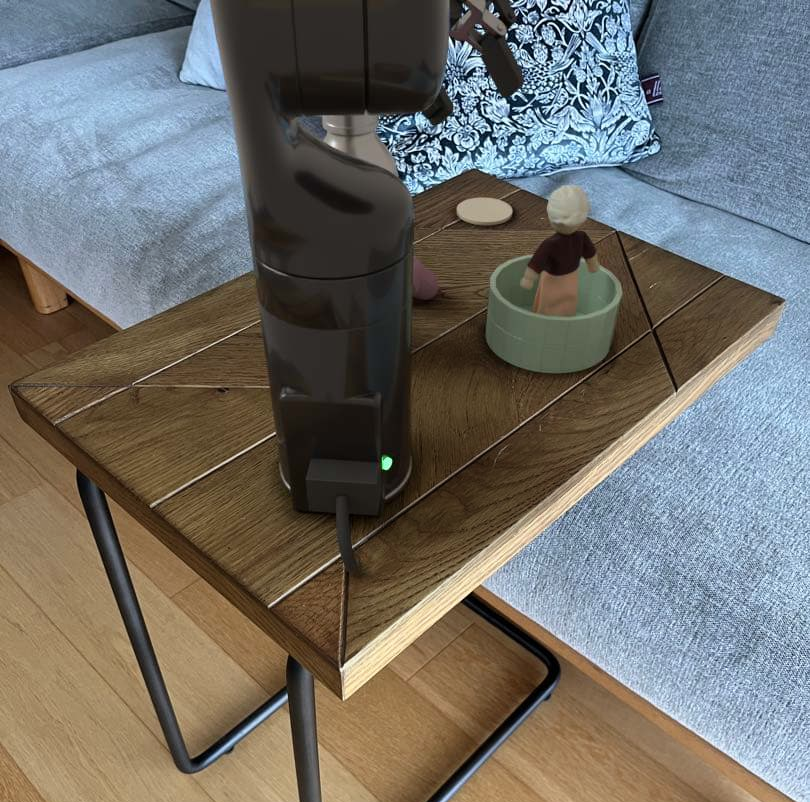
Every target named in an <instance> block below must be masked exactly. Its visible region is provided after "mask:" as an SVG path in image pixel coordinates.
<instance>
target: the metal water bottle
mask: <svg viewBox="0 0 810 802" xmlns="http://www.w3.org/2000/svg"><path fill="white" fill-rule="evenodd" d="M321 120H322V121H321V123H322V128H323V129H324V130H325V131H326V136H325V137H324V139H322V141H324V142H325V143H327V144H329V145H330V146H332V147H334V148H336V149H338V150H340V151H343V152H345V153H348V154H350V155H353V156H355V157H358V158H361V159H363V160H366V161H369V162H371V163H374V164H377V165H379V166H381V167H383V168H385V169H387V170H389V171H390V172H392V173H393V174H395V175H396V176H397V177H399V178H400V174H399V171H398V168H397V164H396V160H395V158H394V156H393V155H392V154H391V152H390V151H389V149H388V147H387V145H386V144H385V143H384V142H383V140H382V139H381V138H380V137H379V135H378V134H377V131H376V130H377V129H378V128H379V127H380V115H376V116H368V115H367V114H366V111H365V115H364V116H326V117H321Z"/></svg>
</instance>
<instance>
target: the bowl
mask: <svg viewBox="0 0 810 802" xmlns="http://www.w3.org/2000/svg"><path fill="white" fill-rule="evenodd" d="M533 255H534V254H526V255H522V256H519V257H516V258H511V259H509V260H507V261H505V262H504V263H502V264H500V265H498V266H497V267H496V268H495V270H494V271H493V272H492V274H491V275H490V278H489V287H488V297H487V298H488V299H487V301H488V302H487V310H486V322H485V340H486V343H487V345H488V347H489V349H490V350H491V351H492V352H493V353H494V354H495V355H496V356H497V357H498V358H500V359H502V360H503V361H504V362H506V363H509V364H510V365H513V366H514V367H516V368H520V369H522V370H527V371H531V372H536V373H543V374H569V373H575V372H580V371H584V370H586V369H587V370H588V369H589V368H592V367H593V366H596V365H597V364H599V363H601V362H602V361H603V360H604V359H605V358H606V357H607V356H608V355H609V352H610V350H611V346H612V344H613V341H614V336H615V331H616V326H617V322H618V317H619V312H620V309H621V303H622V300H623V295H624V293H623V288H622V284H621V281H620V280H619V279H618V278H617V277H616V275H615V274H614V273H613V272H612V271H610V270H609V269H607V268H606V267H604V266H602V265H601V264H599V265H600V267H599V270H598V271H597V272H595V273H591V272H589V271H588V269H587V264H586V262H585V260H584V257H581V260H580V265H579V267H578V269H577V272H578V303H577V310H576V316H572V317H559V316H546V315H542V314H537V313H533V312H532V310H533V305H534V301H535V297H536V293H537V290H538V286H539V282H540V278H541V274H542V272H541V273H540V274H539V275H538V276H537V278H536V280H535V281H534V282H533V286H532V288H531V289H530V290H523V289H522V288H521V287H520V281H521V280H522V279H523V278H524V274H525V271H526V269H527V265H528V263H529V261H530V259H531V258H532V256H533Z"/></svg>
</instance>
